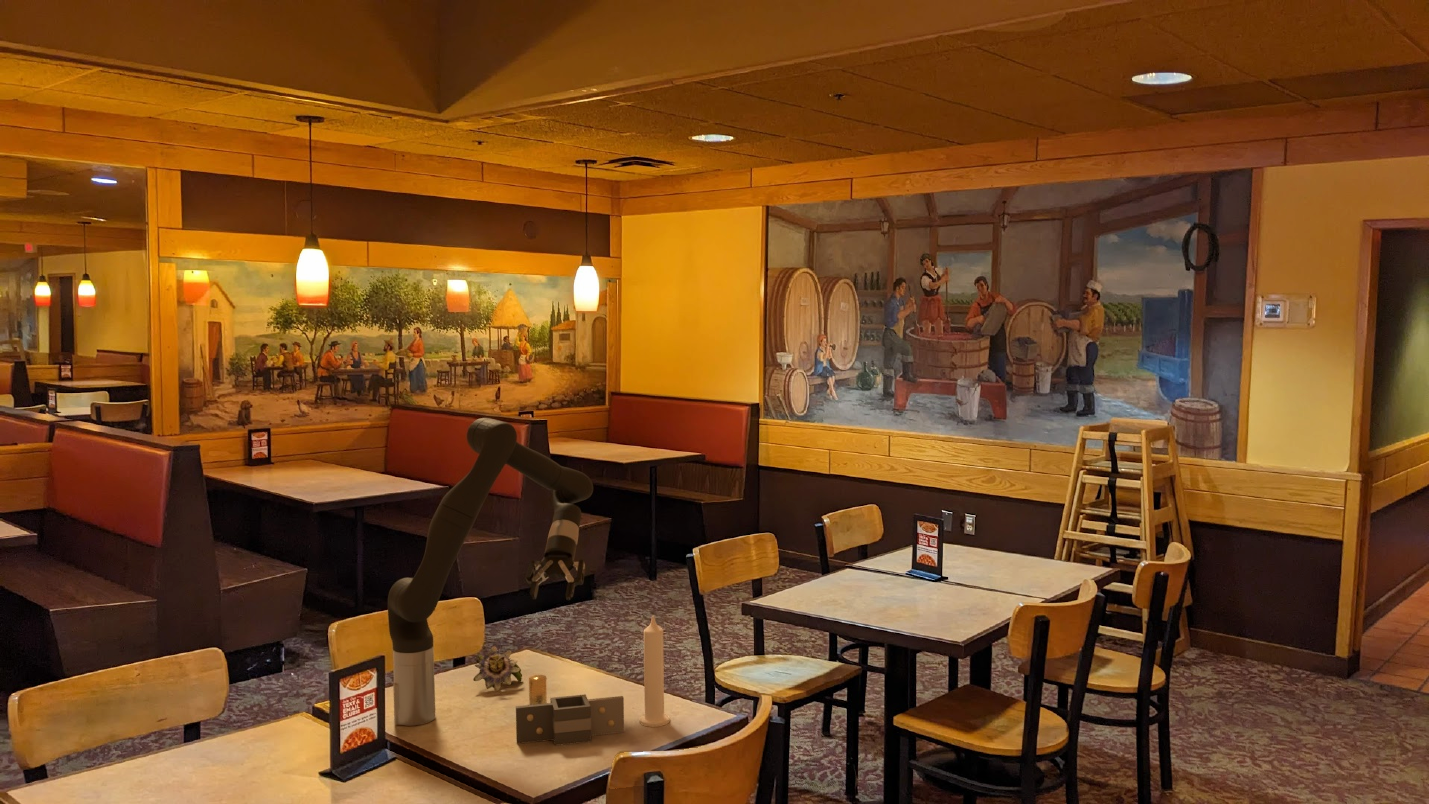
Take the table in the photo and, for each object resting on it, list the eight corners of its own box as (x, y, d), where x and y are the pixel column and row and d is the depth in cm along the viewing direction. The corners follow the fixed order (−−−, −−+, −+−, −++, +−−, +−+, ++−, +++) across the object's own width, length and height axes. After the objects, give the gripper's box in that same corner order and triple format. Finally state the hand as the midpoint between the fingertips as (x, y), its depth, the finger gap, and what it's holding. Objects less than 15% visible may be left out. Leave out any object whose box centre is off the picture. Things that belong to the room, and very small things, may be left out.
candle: (675, 718, 251) (673, 613, 249) (660, 728, 244) (659, 621, 242) (648, 714, 254) (647, 610, 252) (633, 724, 247) (632, 618, 245)
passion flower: (497, 711, 272) (471, 680, 266) (486, 690, 281) (461, 660, 276) (534, 682, 274) (509, 651, 269) (521, 663, 284) (497, 632, 278)
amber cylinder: (530, 723, 248) (529, 681, 248) (529, 717, 252) (528, 675, 252) (547, 721, 250) (547, 679, 249) (546, 715, 253) (545, 674, 253)
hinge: (518, 749, 233) (517, 713, 232) (515, 735, 241) (514, 701, 240) (626, 737, 239) (626, 702, 239) (620, 724, 247) (620, 691, 246)
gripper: (531, 533, 269) (518, 589, 259) (586, 534, 267) (575, 590, 257) (538, 549, 275) (525, 605, 264) (592, 550, 273) (581, 606, 262)
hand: (550, 598), depth 260 cm, fingers open, 8 cm apart
